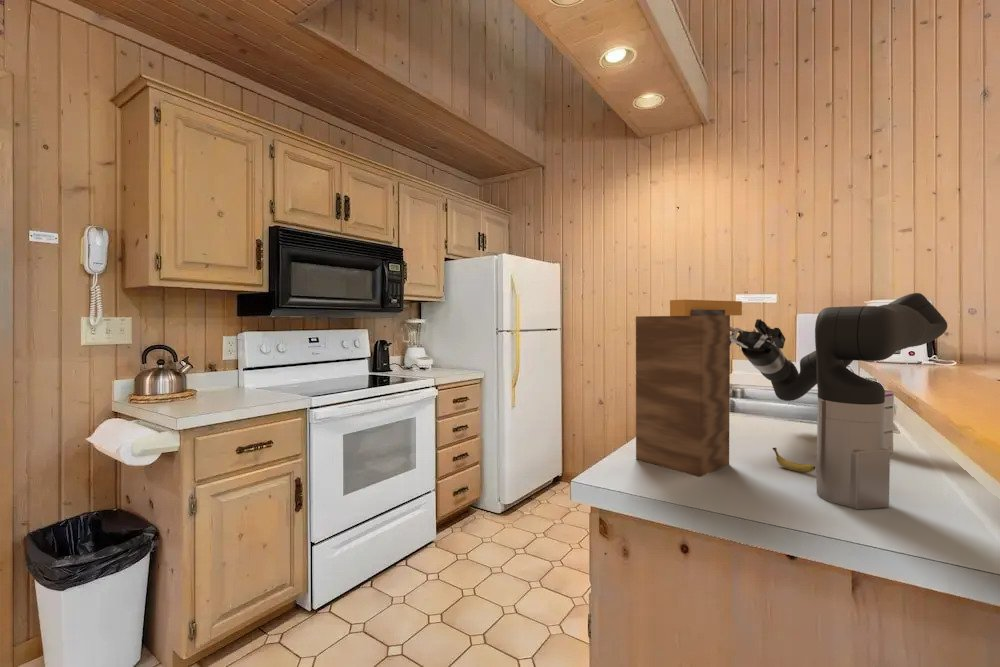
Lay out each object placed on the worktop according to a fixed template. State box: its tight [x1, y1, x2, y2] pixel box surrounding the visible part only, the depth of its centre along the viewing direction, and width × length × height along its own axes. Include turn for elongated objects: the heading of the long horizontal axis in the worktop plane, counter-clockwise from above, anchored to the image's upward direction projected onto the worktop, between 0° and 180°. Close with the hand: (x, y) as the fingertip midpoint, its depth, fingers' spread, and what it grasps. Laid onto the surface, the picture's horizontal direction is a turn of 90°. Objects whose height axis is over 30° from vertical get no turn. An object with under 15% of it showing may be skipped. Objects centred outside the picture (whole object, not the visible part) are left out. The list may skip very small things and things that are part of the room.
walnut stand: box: [635, 310, 731, 478], centre depth 101 cm, size 12×15×33 cm
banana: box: [772, 447, 816, 473], centre depth 96 cm, size 8×2×4 cm, turn 32°
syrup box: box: [884, 389, 895, 454], centre depth 108 cm, size 6×6×14 cm
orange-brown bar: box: [669, 299, 743, 316], centre depth 100 cm, size 24×3×3 cm, turn 128°
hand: (738, 322), depth 110 cm, fingers open, 8 cm apart
